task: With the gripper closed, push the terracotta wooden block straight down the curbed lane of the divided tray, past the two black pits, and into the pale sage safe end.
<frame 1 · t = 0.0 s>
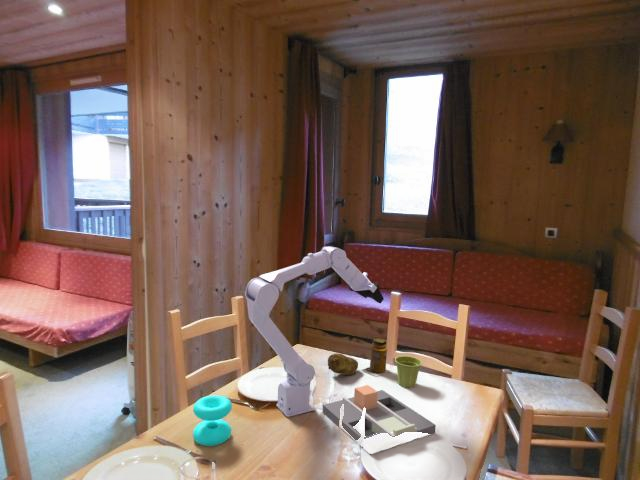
hand: (374, 298, 145), 32 cm above the table, tool tilted 50°, fingers open, 7 cm apart
terracotta block: (365, 405, 133), point 2 cm above the table, touching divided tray
condiment: (375, 371, 165), on the table
plant pot: (406, 384, 155), on the table
donuts: (212, 437, 117), on the table
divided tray: (376, 422, 128), on the table
potato: (343, 374, 161), on the table
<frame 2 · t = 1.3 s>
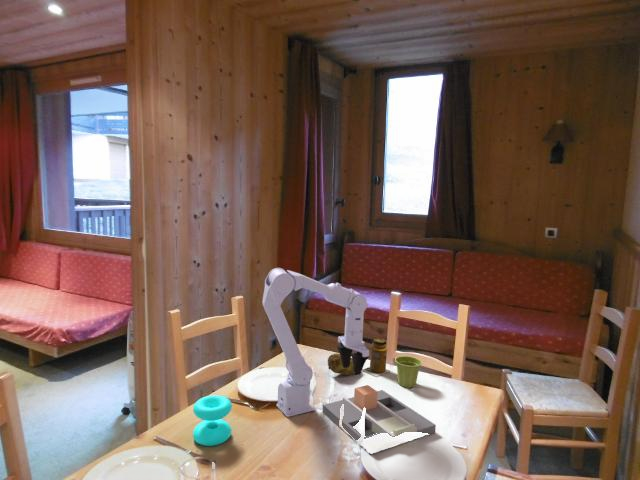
hand: (351, 370, 138), 10 cm above the table, tool pointing down, fingers open, 6 cm apart
nothing on the table moved.
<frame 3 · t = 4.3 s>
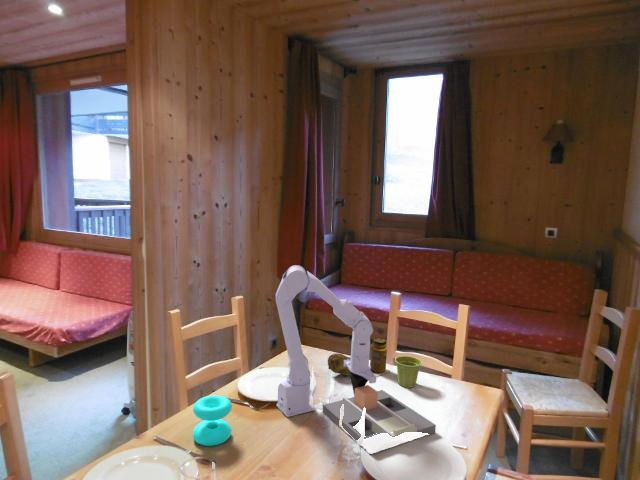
hand: (357, 396, 136), 4 cm above the table, tool pointing down, fingers closed
terracotta block: (365, 405, 132), point 3 cm above the table, touching gripper
everything else where it was.
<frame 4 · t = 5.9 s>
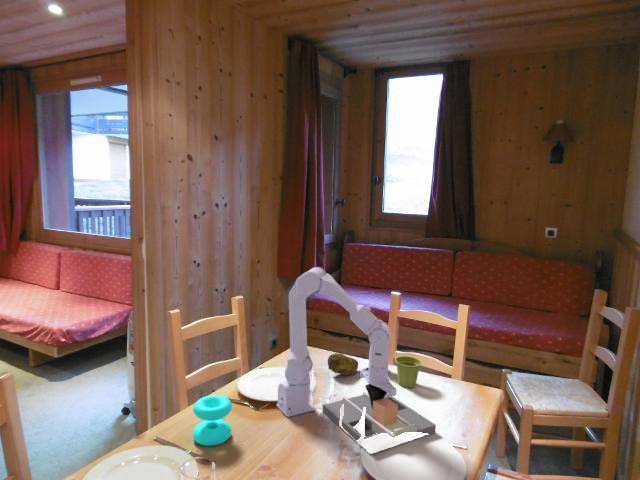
hand: (375, 409, 128), 4 cm above the table, tool pointing down, fingers closed
terracotta block: (384, 419, 125), point 3 cm above the table, touching gripper
everything else where it was.
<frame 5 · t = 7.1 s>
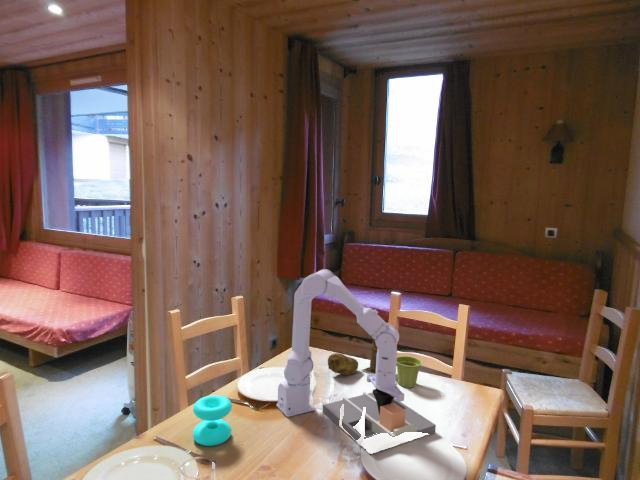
hand: (383, 414, 125), 4 cm above the table, tool pointing down, fingers closed
terracotta block: (391, 425, 122), point 2 cm above the table, touching gripper, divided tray
everything else where it was.
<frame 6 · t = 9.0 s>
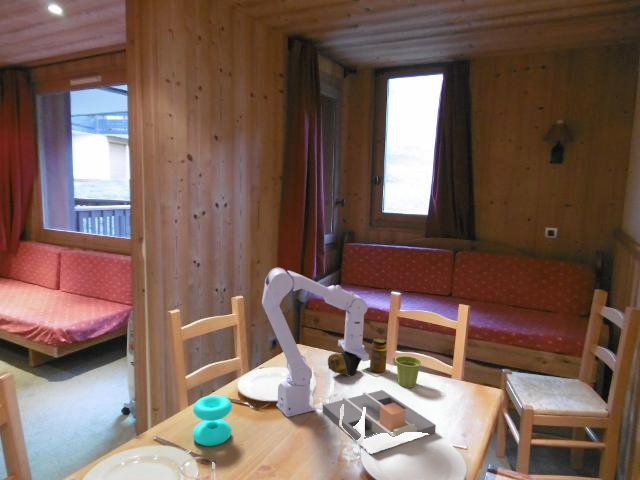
hand: (351, 374, 137), 10 cm above the table, tool pointing down, fingers closed
terracotta block: (391, 425, 122), point 2 cm above the table, touching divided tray
everything else where it was.
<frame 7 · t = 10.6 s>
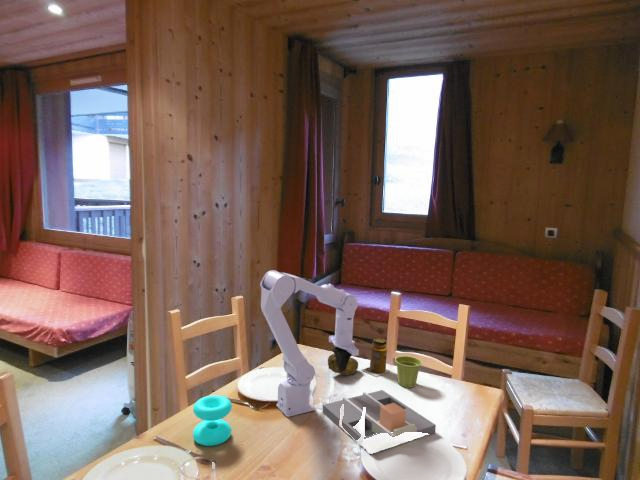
hand: (341, 369, 141), 9 cm above the table, tool pointing down, fingers closed
nothing on the table moved.
at the end: terracotta block 0.1 cm from the target spot on the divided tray, point 2.5 cm above the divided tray's base; terracotta block point 2.5 cm above the table; terracotta block tilted 0° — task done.
